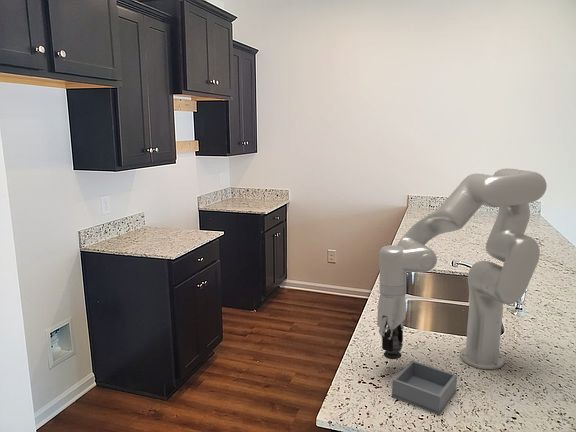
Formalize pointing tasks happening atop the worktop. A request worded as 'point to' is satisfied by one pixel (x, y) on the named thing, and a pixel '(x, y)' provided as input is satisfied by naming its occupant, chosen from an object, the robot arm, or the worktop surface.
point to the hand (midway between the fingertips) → (392, 345)
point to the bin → (424, 386)
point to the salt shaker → (394, 346)
